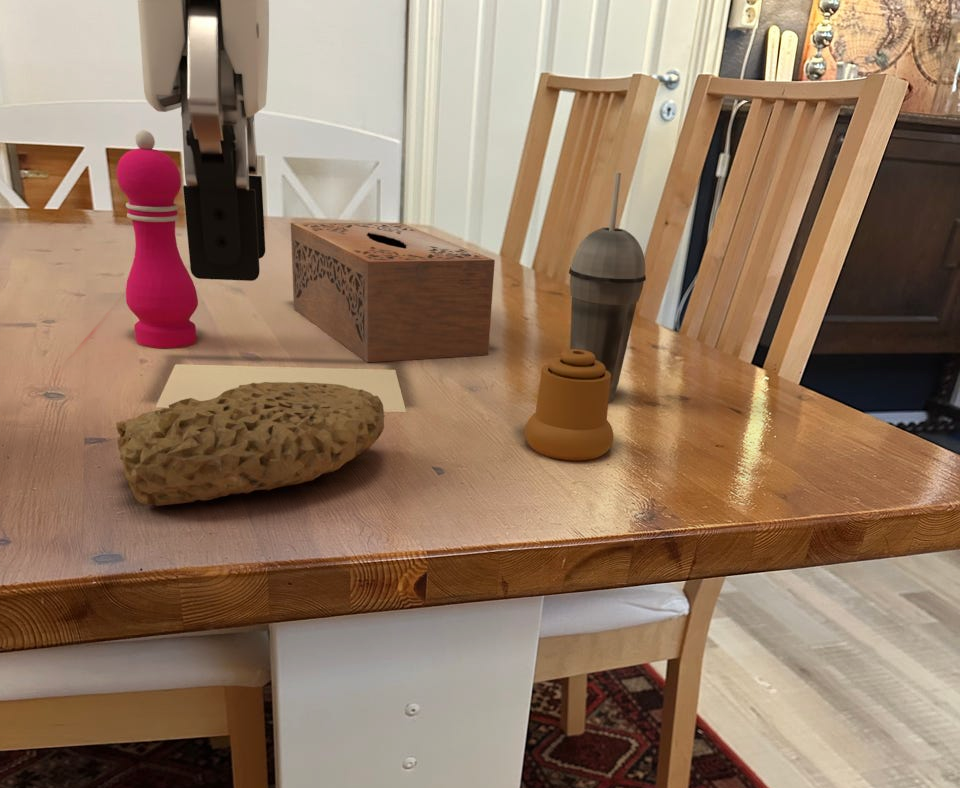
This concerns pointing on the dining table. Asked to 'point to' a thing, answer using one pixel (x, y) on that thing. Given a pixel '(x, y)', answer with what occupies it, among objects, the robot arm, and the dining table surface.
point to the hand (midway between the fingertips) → (230, 263)
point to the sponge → (246, 440)
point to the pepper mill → (156, 249)
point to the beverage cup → (606, 293)
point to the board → (220, 378)
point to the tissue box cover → (392, 290)
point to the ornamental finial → (572, 408)
